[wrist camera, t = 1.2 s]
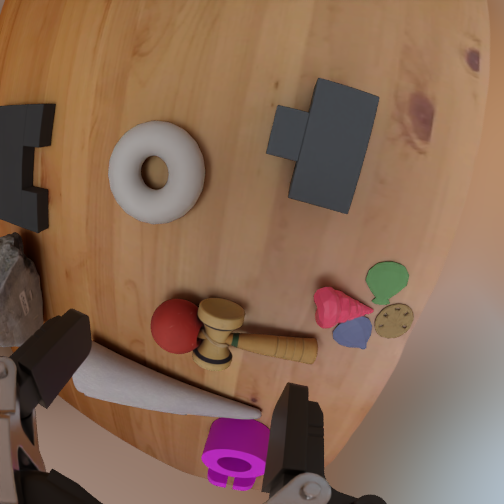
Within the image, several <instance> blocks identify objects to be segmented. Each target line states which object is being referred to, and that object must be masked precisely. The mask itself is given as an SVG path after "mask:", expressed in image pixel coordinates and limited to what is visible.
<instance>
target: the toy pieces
mask: <svg viewBox="0 0 504 504" xmlns="http://www.w3.org/2000/svg"><path fill="white" fill-rule="evenodd" d="M408 278H409V274H408V272H407V270H406V268H405V267H404V266H402V265H401V264H399V263H396V262H381V263H377V264H376V265H375V266H373V267H372V268H371V269H370V270H369V272H368V275H367V278H366V282H367V284H368V286H369V288H370V290H371V292H372V293H373V294H374V296H375V298H374V299H373V300H372V302H373V303H375V304H379V305H387V304H389V303H390V302H389V300H388V299H389V298H391V297H392V296H394V295H396V294H397V293H398V292H399V291H401V290H402V289H403V288H404V287H406V286H407V282H408ZM314 302H315V304H316V306H317V310H316V313H315V319H316V322H317V324H318V325H319V326H320V327H321V328H331V327H333V326H335V325H336V324H337V323H341V324H340V325H338V326H337V328H336V329H335V330H334V331H333V339H334V340H335V341H336V342H338V343H339V344H340V345H343V346H346V347H357V348H361V349H365V348H366V343H367V341H368V339H369V337H370V336H371V330H372V325H371V323H370V321H369V319H368V318H366V317H363V316H364V315H365V314H369V313H372V312H373V311H374V310H373V309H371V308H369V307H367V306H366V305H364V304H363V303H360V302H359V301H358V300H354V299H353V298H351V297H350V296H347V295H345V294H344V293H343V292H342V291H338V290H334V289H333V288H332V287H324V288H321V289H318V290H317V291H316V293H315V295H314ZM395 308H400V310H397V309H395ZM406 312H408V314H406V315H404V314H405V313H406ZM385 313H386V314H387V316H384V314H385ZM413 318H414V316H413V312H412V310H411V308H409V307H408V306H406V305H403V304H395V305H391V306H388V307H386V308H385V309H384V310H382V311H381V312H380V314H379V315H378V316H377V318H376V321H375V330H376V332H377V334H379V335H380V336H381V337H385V338H396V337H399V336H401V335H403V334H404V333H406V332H407V331H408V329H409V328H410V327H411V324H412V322H413ZM379 325H383V326H382V327H379ZM403 325H405V326H406V328H403V327H402V326H403Z"/></svg>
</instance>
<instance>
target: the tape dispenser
mask: <svg viewBox="0 0 504 504" xmlns="http://www.w3.org/2000/svg"><path fill="white" fill-rule="evenodd" d="M269 435H270V430H269V429H268V428H267V427H266V426H265V425H264V424H262V423H260V422H258V421H256V420H253V419H234V418H219V419H217V420H215V421H214V422H213V423H212V425H211V428H210V431H209V435H208V438H207V441H206V444H205V448H204V451H203V454H202V461H203V463H204V464H205V465H206V466H207V467H209V469H208V480H209V482H210V483H212V484H213V485H216V486H220V487H224V488H225V487H226V483H227V479H228V476H231V477H235V479H234V483H233V489H235V490H241V491H245V490H249V489H250V488H252V486H253V484H254V482H255V479H256V477H257V476H260V475H263V474H264V471H265V464H266V457H267V450H268V443H269Z"/></svg>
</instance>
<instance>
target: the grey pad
mask: <svg viewBox="0 0 504 504" xmlns="http://www.w3.org/2000/svg"><path fill="white" fill-rule="evenodd" d="M378 102H379V97H378V96H375V95H372V94H369V93H367V92H364V91H361V90H358V89H355V88H352V87H349V86H345V85H342V84H339V83H335V82H332V81H329V80H325V79H321V78H318V80H317V82H316V85H315V88H314V92H313V96H312V100H311V104H310V109H309V112H305V111H301V110H297V109H293V108H289V107H285V106H280V105H278V106H277V110H276V114H275V118H274V122H273V126H272V131H271V135H270V139H269V143H268V147H267V151H266V154H270V155H274V156H278V157H282V158H286V159H290V160H293V161H296V164H295V168H294V172H293V176H292V180H291V184H290V188H289V195H288V198H291V199H295V200H298V201H302V202H306V203H309V204H313V205H316V206H320V207H323V208H327V209H330V210H334V211H337V212H341V213H344V214H348V211H349V208H350V205H351V202H352V199H353V195H354V192H355V189H356V185H357V182H358V178H359V175H360V172H361V168H362V165H363V161H364V157H365V154H366V150H367V146H368V143H369V139H370V135H371V131H372V127H373V123H374V119H375V115H376V111H377V106H378Z"/></svg>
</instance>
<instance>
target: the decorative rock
mask: <svg viewBox="0 0 504 504" xmlns="http://www.w3.org/2000/svg"><path fill="white" fill-rule="evenodd" d="M42 306H43V302H42V293H41V288H40V276H39V274H38V273H37V270H36V267H35V265H34V262H33V261H32V260H30V259H29V258H27V257H26V255H25V254H24V249H23V242H22V238H21V236H20V235H19V234H18V233H16V232H14V233H13V234H8V235H6V236H3V237H0V346H1V347H6V346H9V347H12V346H18V347H19V346H21V345H22V344H23V343H24V342H25V341H26V340H27V339H28V338H29V337H31V336H32V335H34V333H35V332H36V331H37V330H38V329H40V327H41V326H42V325H43V310H42Z"/></svg>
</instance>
